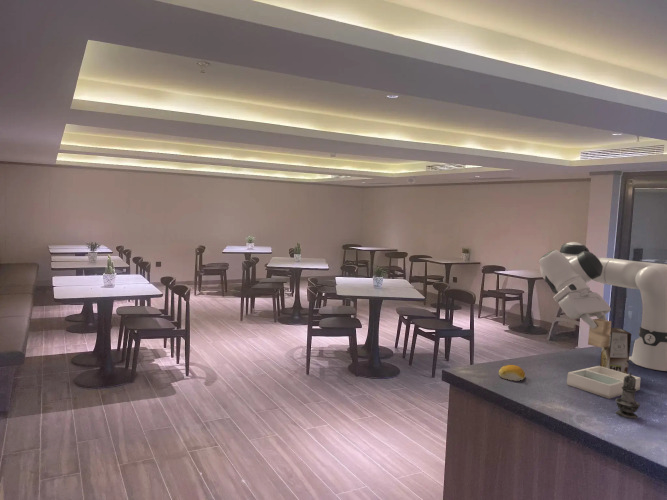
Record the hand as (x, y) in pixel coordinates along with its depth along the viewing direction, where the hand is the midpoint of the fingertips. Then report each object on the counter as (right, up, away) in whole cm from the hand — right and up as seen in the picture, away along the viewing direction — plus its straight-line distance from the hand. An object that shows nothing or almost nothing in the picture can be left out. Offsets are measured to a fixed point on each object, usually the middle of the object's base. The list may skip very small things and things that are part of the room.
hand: (601, 326), depth 154 cm
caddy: (+3, -20, +4) cm, 21 cm away
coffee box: (+14, -20, +18) cm, 31 cm away
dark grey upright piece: (-3, -22, -19) cm, 29 cm away
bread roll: (-25, -19, +10) cm, 33 cm away
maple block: (-1, -6, +1) cm, 6 cm away
